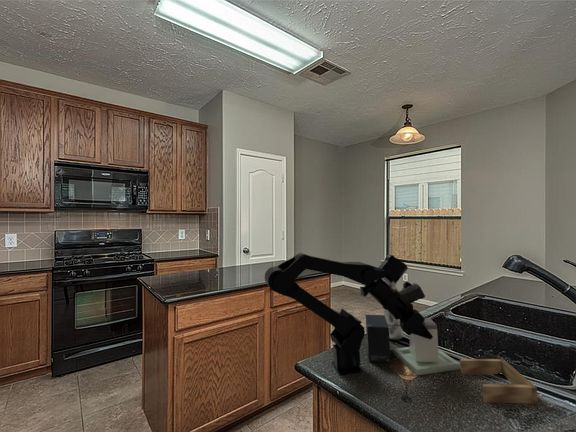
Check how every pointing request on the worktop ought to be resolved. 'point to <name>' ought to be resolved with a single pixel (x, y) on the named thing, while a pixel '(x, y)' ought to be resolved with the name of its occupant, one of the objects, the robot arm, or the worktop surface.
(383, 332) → the small box
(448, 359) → the tray
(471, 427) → the worktop surface
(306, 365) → the worktop surface
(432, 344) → the grey drawer with handle
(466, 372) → the bay
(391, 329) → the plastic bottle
